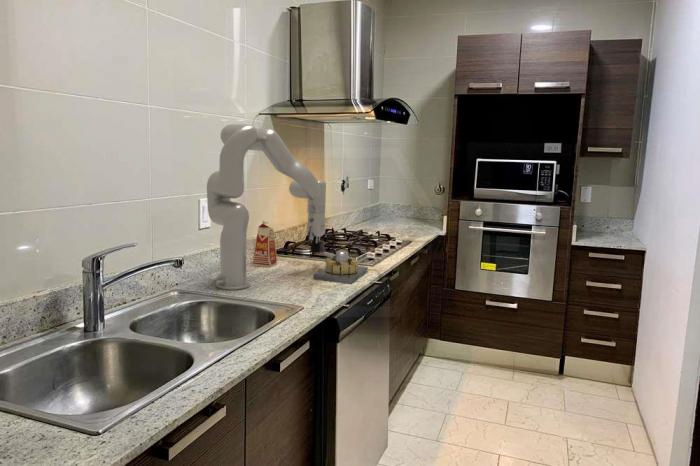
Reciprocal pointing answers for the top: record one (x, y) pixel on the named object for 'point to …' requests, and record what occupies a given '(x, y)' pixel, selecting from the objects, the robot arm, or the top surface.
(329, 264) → the tan ring with lever
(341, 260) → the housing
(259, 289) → the top surface
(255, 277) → the top surface
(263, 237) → the milk carton
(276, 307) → the top surface
